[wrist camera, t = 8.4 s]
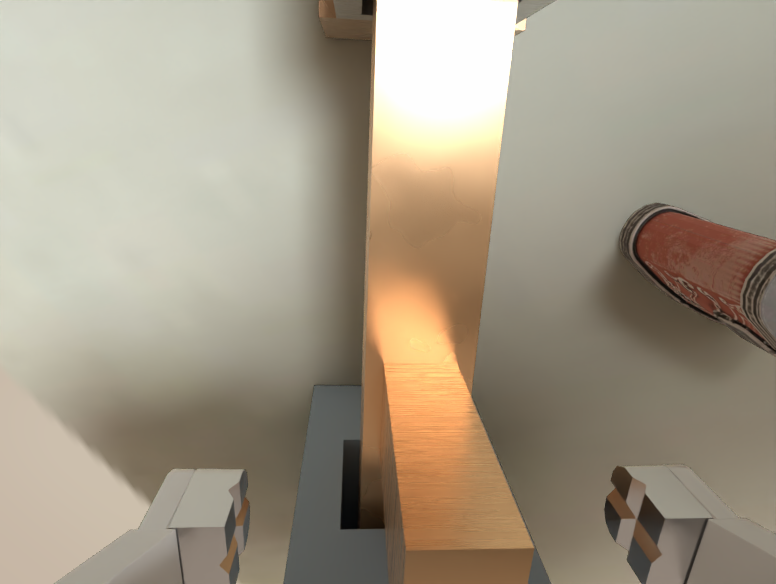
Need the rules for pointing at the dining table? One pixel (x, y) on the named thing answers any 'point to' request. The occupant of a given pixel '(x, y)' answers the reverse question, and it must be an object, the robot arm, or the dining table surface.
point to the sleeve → (355, 17)
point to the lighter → (707, 268)
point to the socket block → (342, 501)
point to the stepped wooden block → (433, 293)
